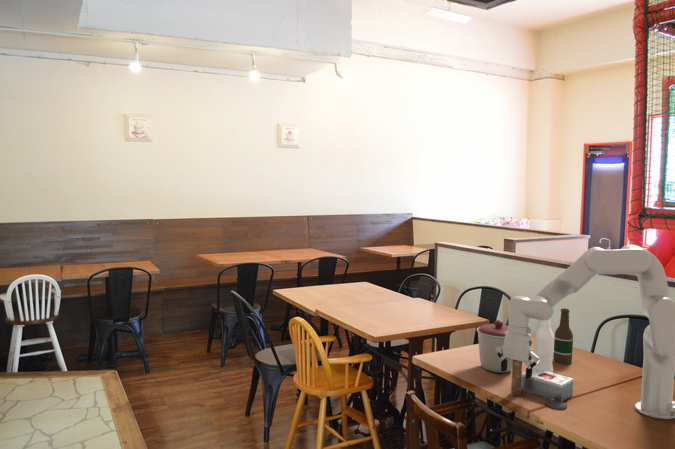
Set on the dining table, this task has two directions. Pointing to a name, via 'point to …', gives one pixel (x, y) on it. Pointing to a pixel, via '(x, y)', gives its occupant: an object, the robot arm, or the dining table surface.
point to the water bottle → (545, 346)
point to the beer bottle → (563, 340)
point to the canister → (492, 346)
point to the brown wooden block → (516, 377)
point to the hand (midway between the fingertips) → (515, 374)
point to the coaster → (556, 404)
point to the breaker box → (548, 385)
